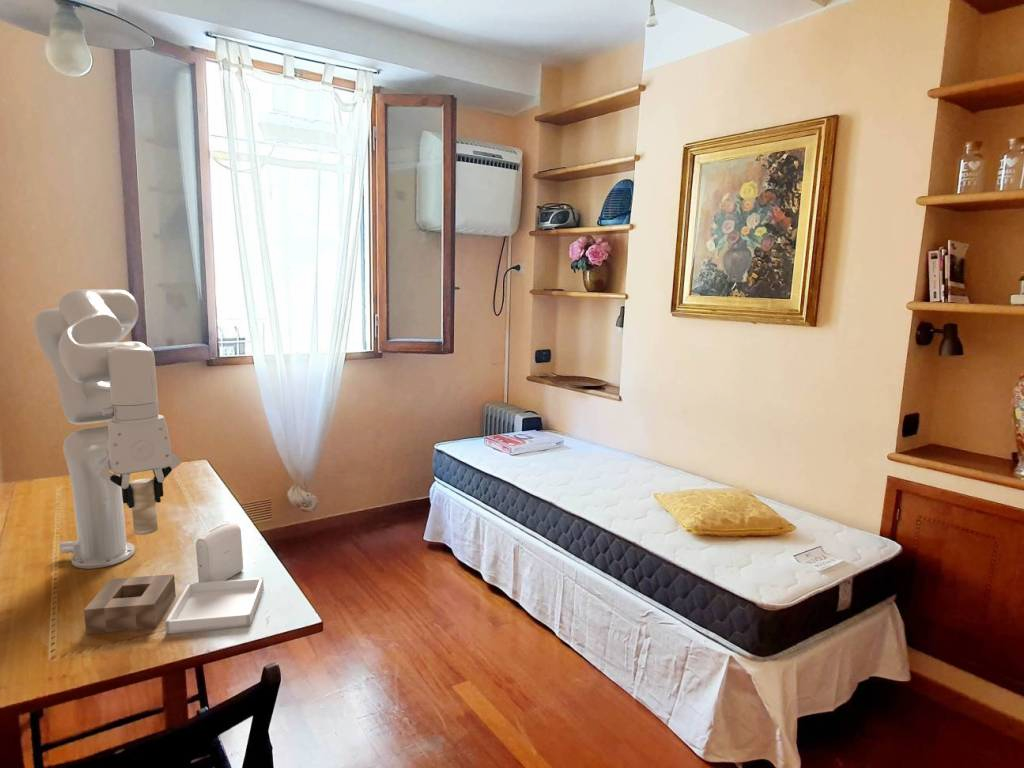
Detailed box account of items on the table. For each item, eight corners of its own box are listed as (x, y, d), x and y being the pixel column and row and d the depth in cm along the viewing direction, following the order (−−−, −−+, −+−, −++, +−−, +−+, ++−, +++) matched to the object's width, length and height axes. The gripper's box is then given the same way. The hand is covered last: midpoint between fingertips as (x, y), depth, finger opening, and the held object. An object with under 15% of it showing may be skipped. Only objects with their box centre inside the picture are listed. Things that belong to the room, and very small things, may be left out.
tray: (166, 633, 117) (165, 621, 116) (189, 594, 131) (188, 583, 131) (250, 626, 120) (249, 614, 119) (263, 588, 134) (263, 577, 134)
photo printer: (210, 590, 133) (206, 537, 131) (195, 586, 134) (191, 533, 132) (246, 570, 142) (243, 519, 140) (232, 566, 144) (229, 516, 142)
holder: (86, 633, 116) (83, 609, 115) (112, 601, 128) (110, 578, 127) (156, 627, 119) (154, 604, 118) (175, 596, 130) (174, 574, 129)
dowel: (136, 536, 118) (132, 486, 116) (132, 529, 120) (127, 481, 119) (159, 531, 120) (156, 482, 118) (155, 524, 123) (151, 477, 121)
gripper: (85, 421, 108) (95, 519, 111) (189, 409, 119) (195, 499, 122) (79, 413, 114) (89, 507, 117) (179, 403, 124) (186, 489, 128)
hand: (143, 502), depth 119 cm, fingers closed on dowel, 4 cm apart
